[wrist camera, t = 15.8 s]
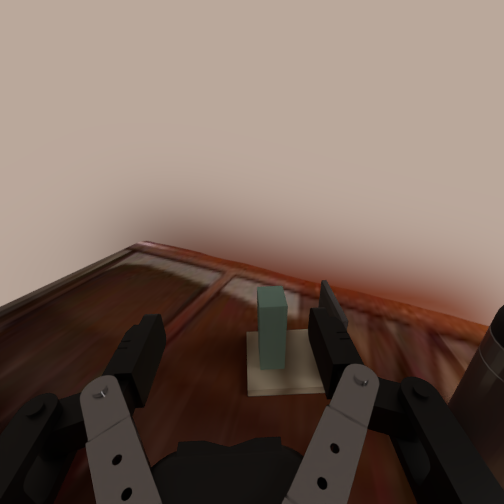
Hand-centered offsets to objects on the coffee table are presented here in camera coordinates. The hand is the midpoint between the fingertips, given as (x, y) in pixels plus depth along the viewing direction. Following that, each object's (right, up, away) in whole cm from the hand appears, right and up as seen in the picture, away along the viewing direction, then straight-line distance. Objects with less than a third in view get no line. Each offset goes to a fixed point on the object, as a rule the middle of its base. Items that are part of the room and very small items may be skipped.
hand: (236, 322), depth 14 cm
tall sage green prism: (+4, -14, +30) cm, 33 cm away
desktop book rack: (+7, -16, +31) cm, 35 cm away
